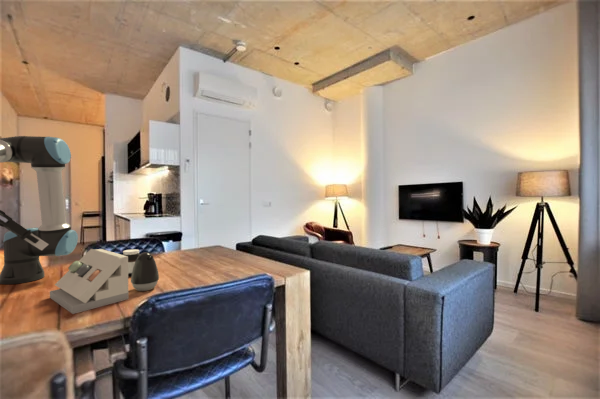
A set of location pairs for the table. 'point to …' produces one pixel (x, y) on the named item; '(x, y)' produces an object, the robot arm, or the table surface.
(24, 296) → the table surface
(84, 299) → the button console
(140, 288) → the dark grey egg figure
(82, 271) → the charcoal button
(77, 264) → the sage button
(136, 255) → the spread jar
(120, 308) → the table surface
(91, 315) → the table surface
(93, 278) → the terracotta button
